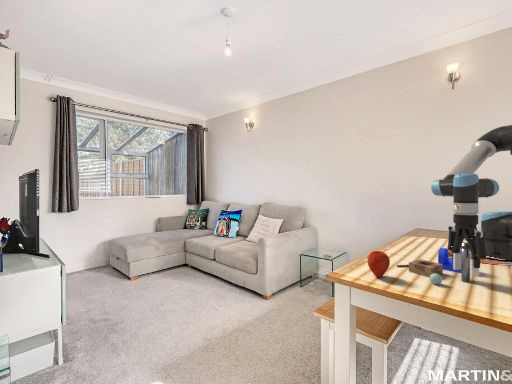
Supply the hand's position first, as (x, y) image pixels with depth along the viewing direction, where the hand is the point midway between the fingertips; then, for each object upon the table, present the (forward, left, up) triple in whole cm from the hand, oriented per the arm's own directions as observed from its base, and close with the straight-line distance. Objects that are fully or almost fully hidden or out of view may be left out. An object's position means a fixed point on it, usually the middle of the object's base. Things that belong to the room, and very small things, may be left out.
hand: (465, 272), depth 99 cm
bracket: (-11, -17, -4) cm, 20 cm away
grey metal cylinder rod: (0, 0, -4) cm, 4 cm away
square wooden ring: (+8, -11, -4) cm, 14 cm away
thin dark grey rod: (+8, -20, -4) cm, 21 cm away
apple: (+30, -9, -4) cm, 32 cm away
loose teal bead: (+13, +1, -4) cm, 14 cm away
